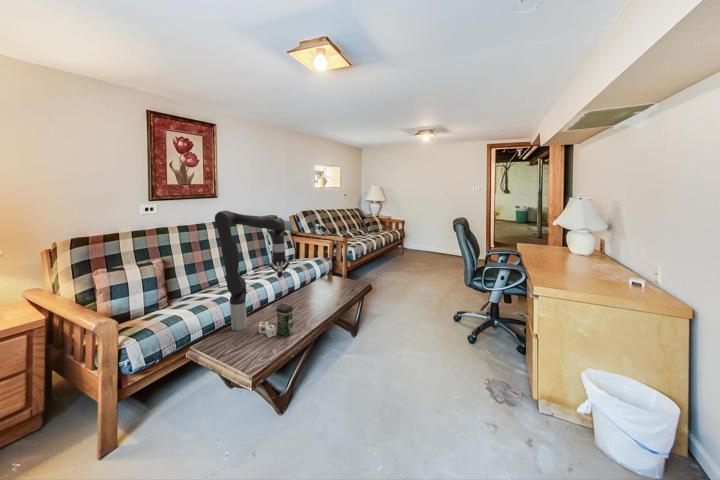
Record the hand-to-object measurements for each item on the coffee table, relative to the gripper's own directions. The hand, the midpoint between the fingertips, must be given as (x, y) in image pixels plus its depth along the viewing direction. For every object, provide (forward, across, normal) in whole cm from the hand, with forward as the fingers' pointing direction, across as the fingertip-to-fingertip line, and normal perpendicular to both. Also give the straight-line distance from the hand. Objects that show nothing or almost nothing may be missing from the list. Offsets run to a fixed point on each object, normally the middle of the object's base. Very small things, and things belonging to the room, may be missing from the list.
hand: (279, 277), depth 182 cm
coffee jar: (+34, +1, -8) cm, 35 cm away
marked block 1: (+34, -11, 0) cm, 36 cm away
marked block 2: (+34, -8, -7) cm, 35 cm away
